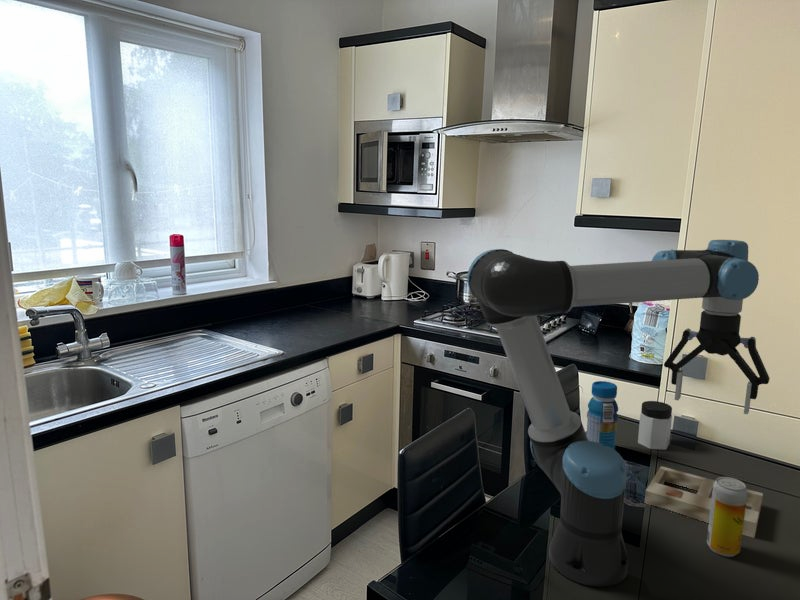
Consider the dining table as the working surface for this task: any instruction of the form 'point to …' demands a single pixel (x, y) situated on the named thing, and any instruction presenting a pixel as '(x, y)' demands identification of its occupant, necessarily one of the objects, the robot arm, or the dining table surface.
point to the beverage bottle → (602, 414)
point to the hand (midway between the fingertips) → (710, 405)
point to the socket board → (696, 497)
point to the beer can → (727, 516)
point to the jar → (655, 425)
